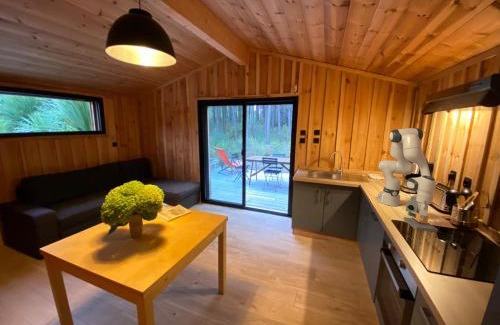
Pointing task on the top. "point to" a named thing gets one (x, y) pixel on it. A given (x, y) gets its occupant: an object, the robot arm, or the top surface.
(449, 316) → the top surface
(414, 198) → the circuit breaker
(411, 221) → the junction plate
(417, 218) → the wire nut
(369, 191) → the top surface
